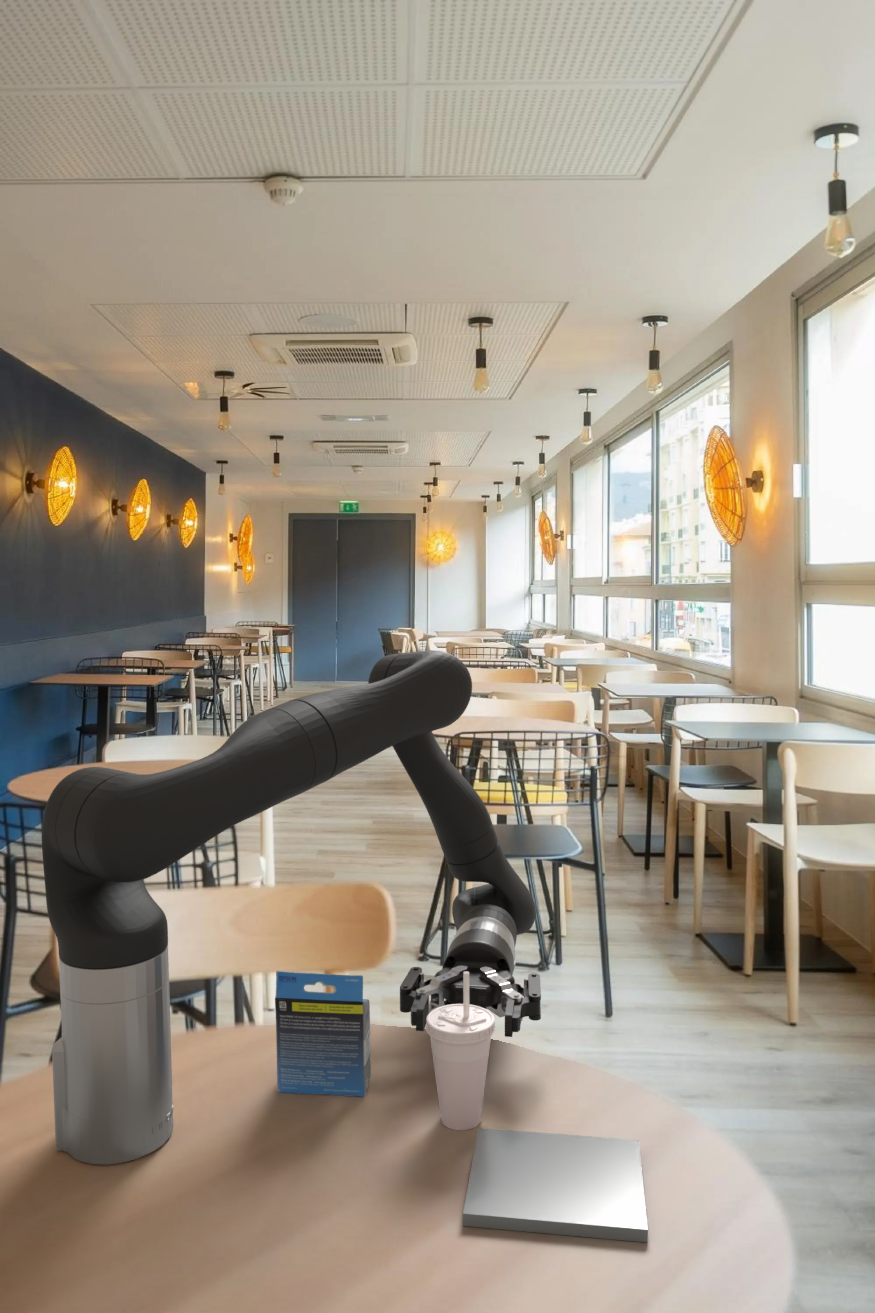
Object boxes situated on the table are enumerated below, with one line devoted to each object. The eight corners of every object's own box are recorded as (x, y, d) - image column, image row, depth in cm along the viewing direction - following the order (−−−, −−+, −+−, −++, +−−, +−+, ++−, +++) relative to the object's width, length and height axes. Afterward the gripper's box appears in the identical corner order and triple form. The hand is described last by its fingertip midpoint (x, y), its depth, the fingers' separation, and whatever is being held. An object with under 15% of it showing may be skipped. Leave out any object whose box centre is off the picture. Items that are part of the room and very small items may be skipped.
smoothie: (489, 1142, 87) (489, 989, 86) (419, 1134, 89) (418, 983, 88) (499, 1104, 94) (499, 961, 93) (433, 1097, 95) (433, 956, 94)
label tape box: (372, 1079, 99) (371, 959, 98) (365, 1100, 95) (363, 976, 94) (286, 1074, 100) (284, 956, 99) (275, 1095, 96) (273, 972, 95)
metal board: (462, 1226, 76) (462, 1213, 76) (478, 1138, 88) (478, 1128, 88) (647, 1242, 74) (647, 1230, 74) (638, 1151, 86) (638, 1140, 86)
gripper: (417, 924, 111) (390, 982, 95) (544, 930, 109) (539, 990, 93) (417, 989, 111) (390, 1058, 95) (544, 996, 109) (538, 1067, 93)
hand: (463, 1024), depth 94 cm, fingers open, 8 cm apart
